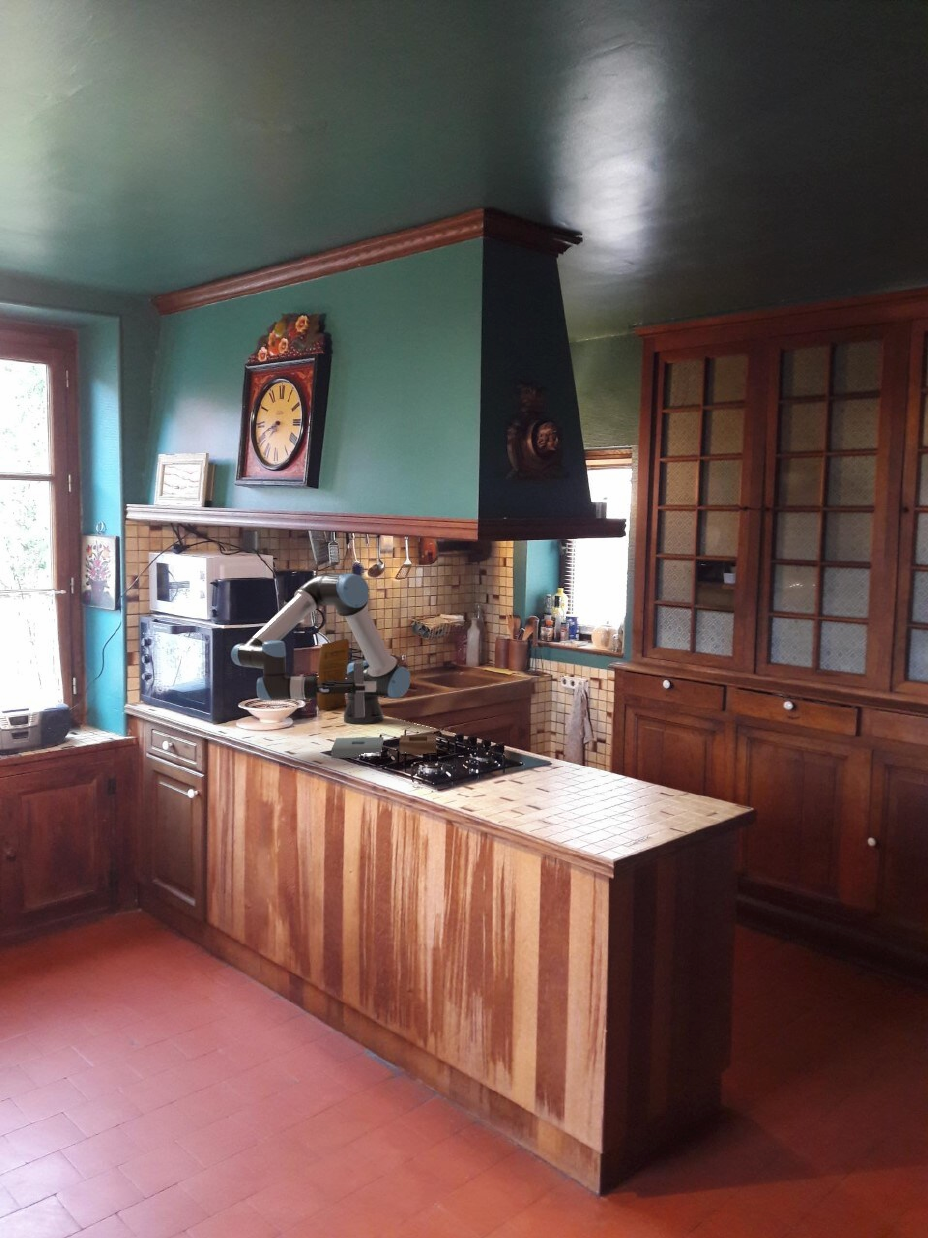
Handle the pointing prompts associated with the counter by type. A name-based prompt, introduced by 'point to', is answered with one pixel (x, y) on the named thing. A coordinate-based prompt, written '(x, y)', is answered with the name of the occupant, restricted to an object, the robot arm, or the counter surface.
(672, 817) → the counter surface
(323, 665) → the pancake mix bag
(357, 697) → the t key
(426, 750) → the block
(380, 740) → the cover plate
